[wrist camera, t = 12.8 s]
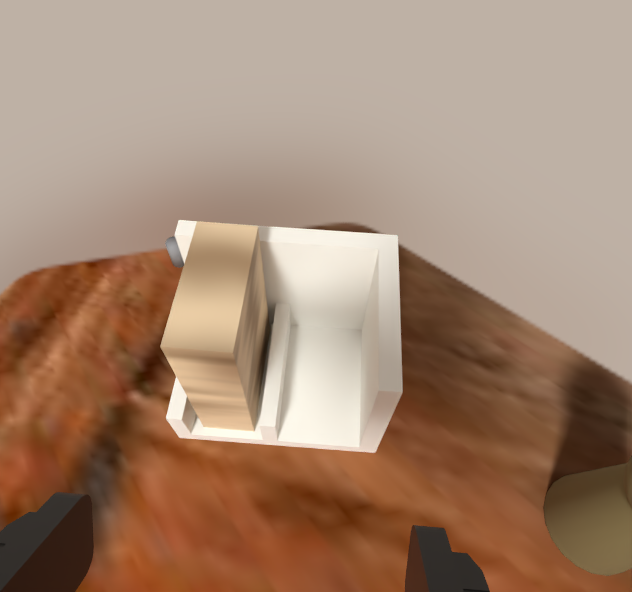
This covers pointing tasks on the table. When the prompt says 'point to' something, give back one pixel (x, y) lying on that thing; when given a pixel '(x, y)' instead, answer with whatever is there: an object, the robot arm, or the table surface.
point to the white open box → (318, 341)
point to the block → (220, 325)
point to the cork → (593, 518)
